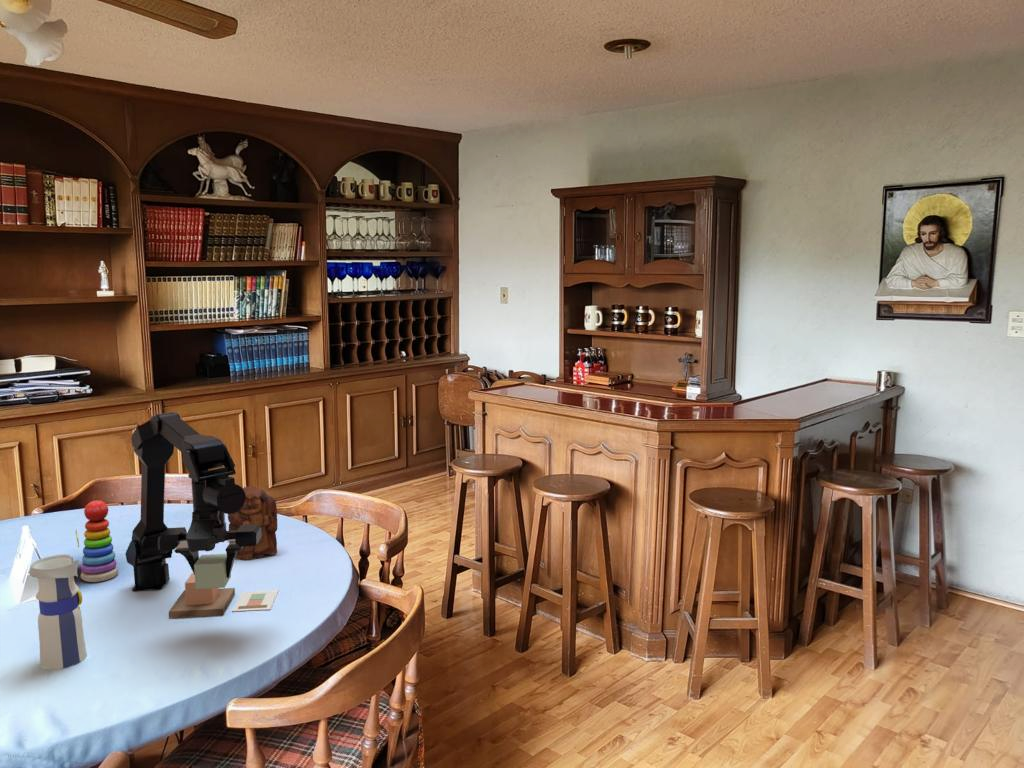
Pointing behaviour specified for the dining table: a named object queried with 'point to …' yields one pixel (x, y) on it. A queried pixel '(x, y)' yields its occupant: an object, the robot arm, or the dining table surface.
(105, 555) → the stacking toy
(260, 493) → the wooden figurine
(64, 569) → the beige and blue vase
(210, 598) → the terracotta block
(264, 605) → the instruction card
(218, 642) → the dining table surface
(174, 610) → the walnut plate
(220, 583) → the sage block
